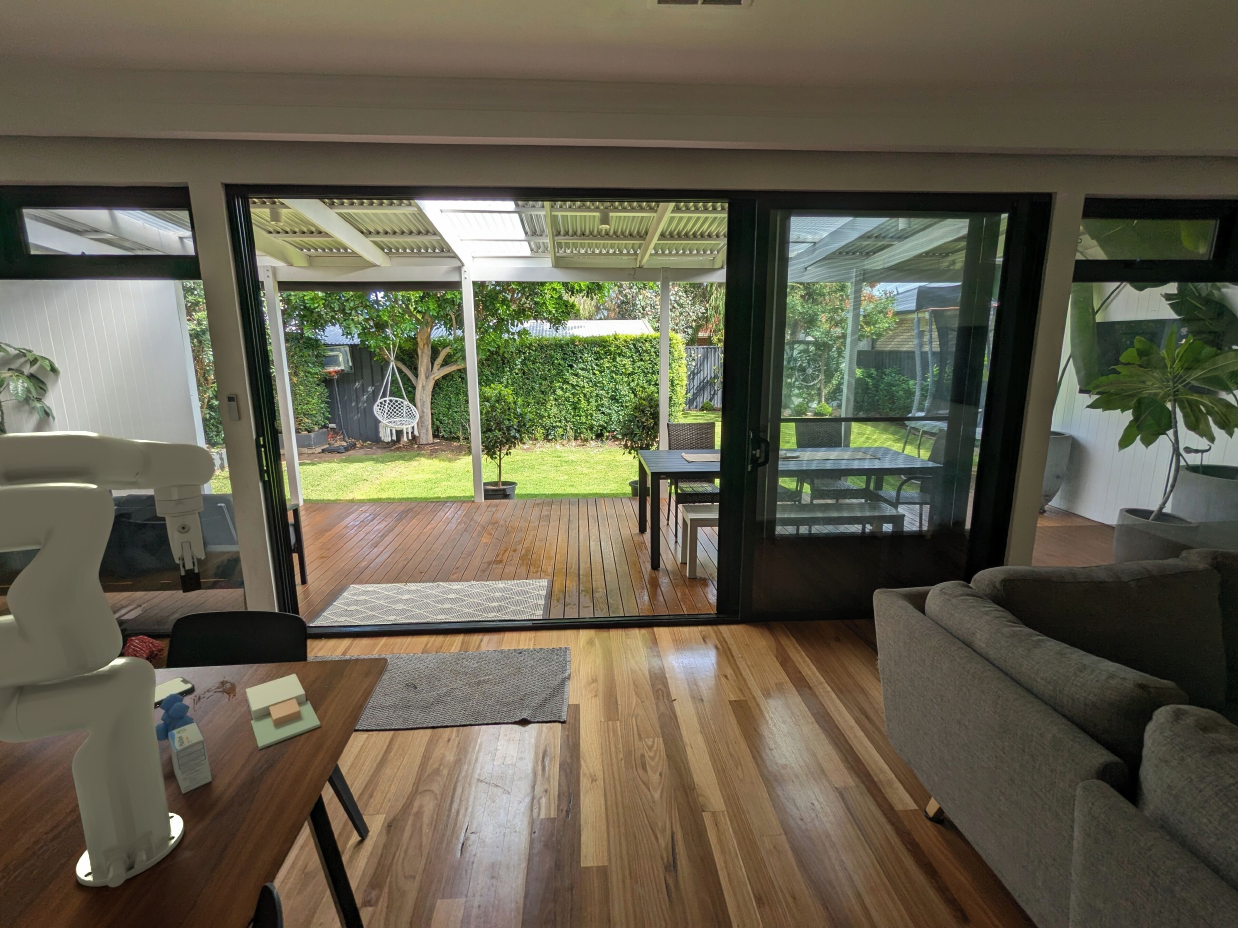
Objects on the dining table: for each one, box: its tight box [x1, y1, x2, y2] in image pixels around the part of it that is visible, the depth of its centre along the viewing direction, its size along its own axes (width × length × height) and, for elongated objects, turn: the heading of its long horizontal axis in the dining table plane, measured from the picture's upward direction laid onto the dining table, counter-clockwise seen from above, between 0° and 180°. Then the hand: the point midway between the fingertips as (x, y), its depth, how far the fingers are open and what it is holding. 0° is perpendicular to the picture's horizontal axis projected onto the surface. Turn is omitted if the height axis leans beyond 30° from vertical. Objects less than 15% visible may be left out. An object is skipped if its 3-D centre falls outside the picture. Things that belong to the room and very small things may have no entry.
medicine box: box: [168, 721, 213, 794], centre depth 100 cm, size 8×4×9 cm, turn 47°
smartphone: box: [154, 676, 196, 708], centre depth 125 cm, size 9×2×16 cm
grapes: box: [155, 693, 195, 742], centre depth 106 cm, size 12×7×12 cm, turn 54°
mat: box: [250, 700, 321, 750], centre depth 115 cm, size 11×11×1 cm
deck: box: [245, 673, 307, 720], centre depth 124 cm, size 11×10×2 cm
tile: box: [269, 698, 301, 726], centre depth 118 cm, size 6×5×2 cm
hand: (192, 590), depth 114 cm, fingers closed
